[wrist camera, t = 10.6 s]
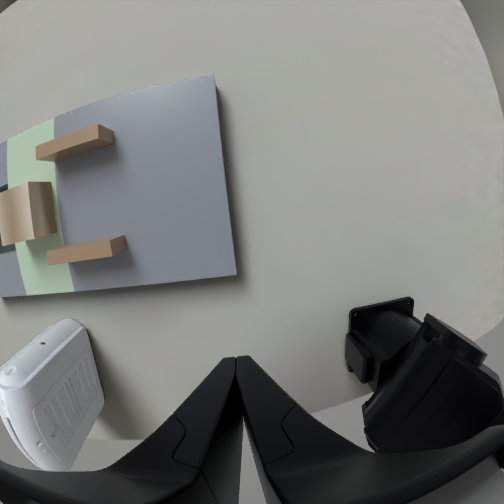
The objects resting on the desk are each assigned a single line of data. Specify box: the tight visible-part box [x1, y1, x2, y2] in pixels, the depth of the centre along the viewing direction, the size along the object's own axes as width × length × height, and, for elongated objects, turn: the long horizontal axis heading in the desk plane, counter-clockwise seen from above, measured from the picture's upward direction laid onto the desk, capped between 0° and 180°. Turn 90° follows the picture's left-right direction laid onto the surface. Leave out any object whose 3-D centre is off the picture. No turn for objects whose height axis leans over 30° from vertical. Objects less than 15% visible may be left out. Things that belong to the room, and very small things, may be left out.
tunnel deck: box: [0, 75, 237, 297], centre depth 17 cm, size 26×14×4 cm, turn 96°
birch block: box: [0, 182, 57, 246], centre depth 16 cm, size 4×4×3 cm
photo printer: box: [0, 319, 104, 472], centre depth 16 cm, size 10×4×12 cm, turn 178°
